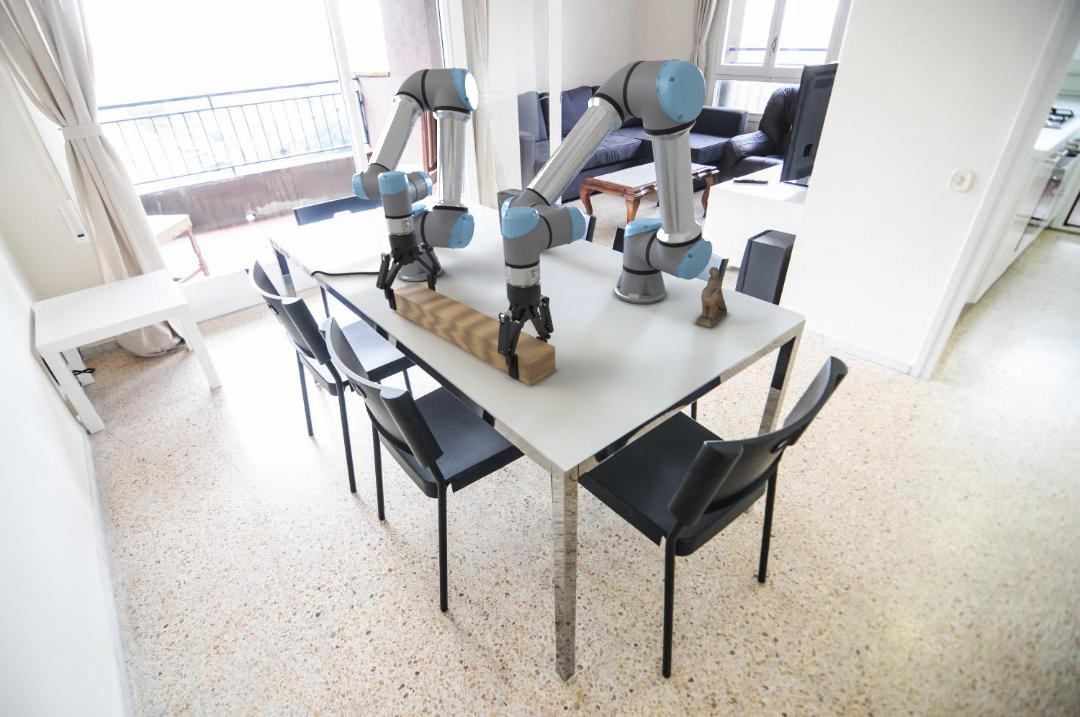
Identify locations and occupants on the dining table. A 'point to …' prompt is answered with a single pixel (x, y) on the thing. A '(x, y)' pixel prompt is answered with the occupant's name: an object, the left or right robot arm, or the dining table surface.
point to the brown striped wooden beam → (473, 331)
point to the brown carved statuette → (712, 301)
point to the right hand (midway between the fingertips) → (528, 368)
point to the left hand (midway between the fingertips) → (413, 302)
